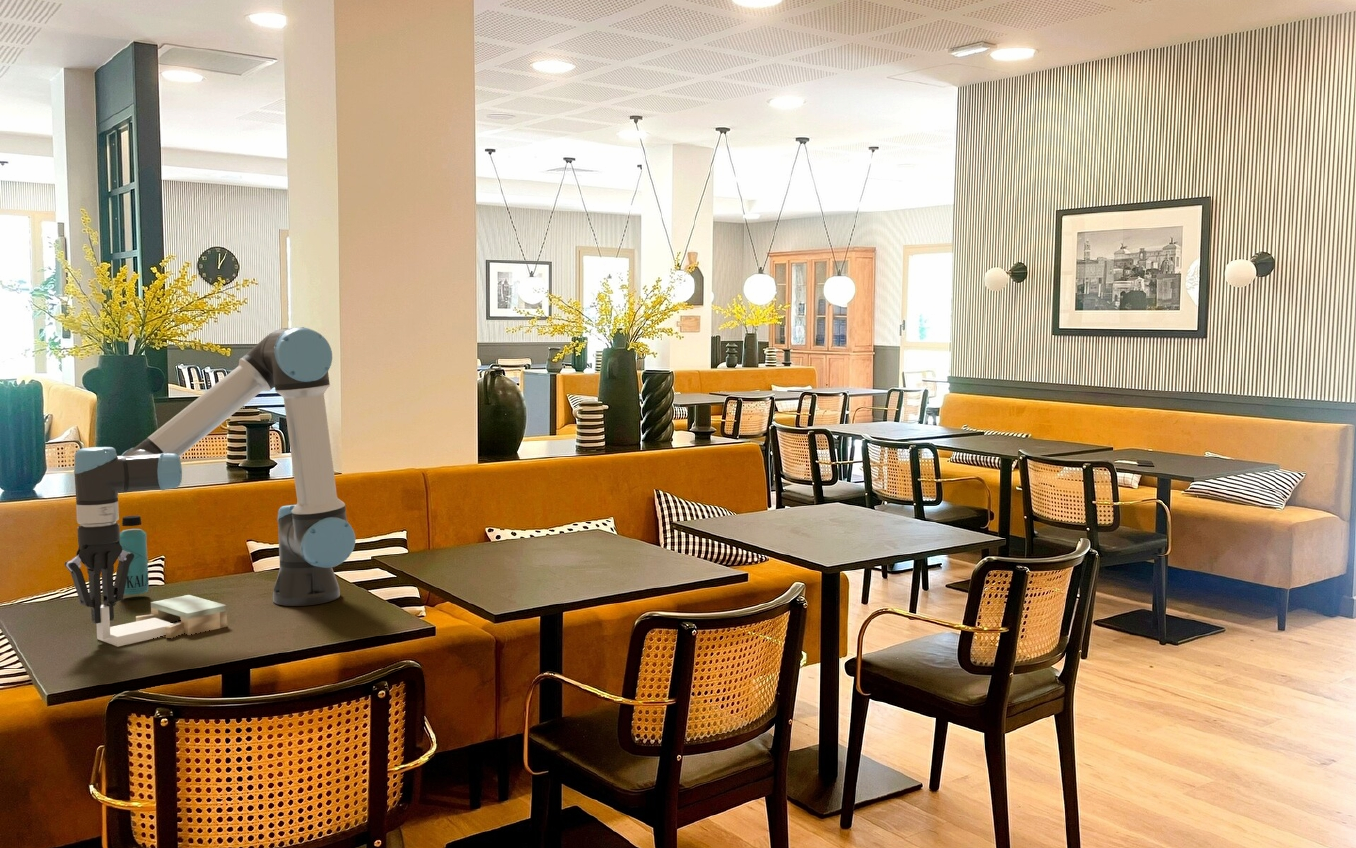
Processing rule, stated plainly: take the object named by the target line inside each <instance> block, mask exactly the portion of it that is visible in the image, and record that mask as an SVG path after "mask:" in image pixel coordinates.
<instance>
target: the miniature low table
mask: <svg viewBox="0 0 1356 848" xmlns="http://www.w3.org/2000/svg"><path fill="white" fill-rule="evenodd" d="M227 607H228V606H227V605H226V604H224V603H220V602H216V601H212V600H209V599H205V598H202V597H198V596H195V595H191V594H185V595H182V596H175V597H171V598H166V599H160V600H156V601H150V612H151V613H149V614H144V615H136V616H135V622H136V621H141V620H146V619H151V618H158V619H161V620H164V621H167V622H173V625H170V626H167V627H165V630H166V636H165V639H167V638H171V639H173V637H174V638H177V637H179V636H178V635H180V636H182V635H181V634H183V635H186V634H187V636H192V635H196V634H195V633H197V634H200V632H201V633H204V632H205V631H206V632H209V630H210V631H214V630H219V629H222V628H226V627H228V613H227V611H228V610H227V609H228V608H227ZM178 620H181V621H178ZM174 621H177V622H174ZM206 632H205V633H206ZM184 633H185V634H184ZM191 634H192V635H191ZM176 636H177V637H176Z"/></svg>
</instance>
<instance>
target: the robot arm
mask: <svg viewBox="0 0 1356 848" xmlns="http://www.w3.org/2000/svg"><path fill="white" fill-rule="evenodd" d="M332 362H333V351H332V347H331V345H330V343H329V342H328V340H327V339H326V338H325V336H323V335H322V334H321V333H319V332H318V331H316V330H313V329H310V328H308V327H305V326H304V327H303V326H302V327H297V326H296V327H292V328H291V327H289V328H288V327H286V328H285V327H284V328H279V329H275V330H274V331H271V332H270V333H268V335H266V336H264V338H263V339H261V340H260V341H259V342H258V343H257V344H256V345H254V346H253V347H252V348H251V349H249V351H248V352H247V353H245V354H244V355H243V356H242V357H240V358H239V361H238V366H237V367H235V368H234V369H233V370H232V371H231V372H229V373H228V374H226V375H225V376H224V377H223V378H222V379H220V380H219V381H217V382H216V383H215V384H214V385H213V386H211V387H209V389H207V390H206V391H205V392H203V394H201V395H200V396H198V397H197V398H196V399H195V400H194V401H192V402H191V403H189V404H188V405H187V406H186V407H185V408H183V409H182V410H181V411H180V412H178V413H177V414H176V415H175V416H173V417H172V418H171V419H169V420H168V421H167V422H165V423H164V424H163V425H162V426H160V427H159V428H158V429H157V430H155V431H154V432H153V433H152V434H150V435H149V436H147V438H146V439H144V440H142V441H141V442H140V443H138V445H136V446H135V447H131V448H129V449H127V450H125V451H124V452H123V453H122V454H121V455H118V454H117V450H116V448H115V447H112V446H92V447H83V448H79V449H78V450H76V451H75V453H74V471H73V475H74V487H75V503H76V504H75V505H76V511H75V512H76V523H77V524H78V526H77V545H78V548H77V551H76V553H75V554H76V556H75V557H73V558H71V560H66V561H65V562H64V567H65V568H66V569H67V570H68V571H69V573H70V576H71V577H72V581H73V585H74V588H75V590H76V594H77V597H78V599H79V603H80V605H82V606H85V607H89V608H90V610H91V611H90V612H91V621H92V623H93V624H96V637H98V638H101V639H107V638H110V627H111V623H110V622H111V621H114V618H115V611H114V608H115V607H114V606H116V605H117V603H118V602H120V601H122V600H123V598H124V596H125V595H124V591H125V586H126V581H127V576H128V571H129V566H130V563H131V562H132V560H133V558H134V554H133V553H129V552H126V551H124V550H122V546H121V545H120V533H121V531H120V523H118V521H119V519H120V515H119V513H120V512H119V494H121V493H130V492H131V493H132V492H146V491H147V492H148V491H159V490H160V491H165V490H169V489H177V488H179V487H180V486H181V483H182V481H183V480H182V479H183V467H182V461H181V458H180V457H182V456H183V455H184V454H186V452H188V451H189V450H190V449H191V448H193V447H194V446H195V445H196V444H197V443H199V442H200V441H202V440H203V439H204V438H205V437H206V436H208V435H209V434H210V433H211V432H213V431H214V430H215V429H217V428H218V427H219V426H220V425H222V424H223V423H224V422H225V421H226V420H228V419H229V418H230V417H231V416H232V415H234V414H236V412H237V411H239V410H240V409H242V408H243V407H244V406H245V405H246V404H247V403H249V402H250V401H252V400H253V399H254V398H255V397H256V396H257V395H259V394H260V393H261V392H270V391H271V390H272V389H274V390H275V392H276V393H277V394H278V395H280V396H281V397H282V398H283V402H284V412H285V417H286V418H285V419H286V425H287V427H286V428H287V433H288V441H289V448H290V449H289V450H290V457H291V463H292V471H293V478H294V479H293V480H294V486H295V487H294V488H295V492H296V499H297V502H296V504H290V505H289V504H288V505H282V506H281V507H279V509H278V511H277V521H276V522H277V527H278V553H279V554H278V556H279V559H278V560H279V571H278V574H277V578H276V581H275V583H274V587H273V590H272V591H273V592H272V602H273V603H274V604H276V605H278V606H279V605H280V606H285V607H287V606H288V607H300V606H314V605H320V604H326V603H329V602H332V601H333V602H334V601H335V600H337V599H339V598H340V597H341V593H340V591H341V590H340V589H341V588H340V585H339V583H338V582H339V581H338V580H337V577H336V574H335V572H334V569H333V568H335V567H337V566H339V565H341V564H343V563H344V562H345V561H346V560H347V559H348V558H349V557H351V554H352V553H353V551H354V549H355V545H356V534H355V531H354V529H353V527H352V525H351V523H349V522H348V517H347V510H346V509H347V508H346V503H345V502H344V501H343V500H341V499H340V498H338V494H337V485H336V479H335V471H334V464H333V462H334V461H333V454H332V447H331V439H330V432H329V425H328V424H329V422H328V415H327V408H326V407H327V406H326V400H325V393H326V391H327V390H328V389H329V387H330V386H331V384H330V376H329V370H330V368H331V366H332ZM118 557H119V558H118ZM117 560H118V563H117V568H116V572H115V566H114V564H116V561H117ZM81 563H82V564H83V565H84V567H86V571H87V574H88V586H87V583H86V579H85V577H84V574H83V572H82V569H81V567H82V564H81ZM114 572H115V577H114ZM114 578H115V579H114ZM101 587H102V588H101ZM101 589H102V590H101ZM102 603H103V604H102ZM98 638H97V639H98Z"/></svg>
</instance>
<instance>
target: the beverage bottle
mask: <svg viewBox="0 0 1356 848" xmlns="http://www.w3.org/2000/svg"><path fill="white" fill-rule="evenodd" d="M141 525H142V520H141V516H140V515H127V516H123V517H122V522H121V526H122V527H135V526H141ZM147 535H148V534H147V532H146V531H144V530H143V529H141V528H130V529H123V530H122V531H120V545H121V546H122V550H124V551H126V552H129V553H133V554H134V558H133V560H132V562H131V563H130V566H129V571H128V576H127V581H126V586H125V591H124V596H133V595H140V594H145V593H147V592H149V588H150V585H149V581H150V579H149V578H150V577H149V560H148V547H147V543H148V542H147V540H148V539H147ZM118 559H119V557H118Z"/></svg>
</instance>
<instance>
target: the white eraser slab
mask: <svg viewBox="0 0 1356 848" xmlns="http://www.w3.org/2000/svg"><path fill="white" fill-rule="evenodd" d="M173 624H174V622H173V623H170V622H167V621H164V620H161V619H158V618H151V619H146V620H141V621H136V620H135V621H132V622H126V623H123V624H118V625H114V626H110V638H107V639H101V638H98V637H97V636H96V637H97V640H99V641H102V642H104V643H107V644H110V645H112V646H114V647H123V646H125V645H126V646H128V645H131V644H137V643H140V642H145V641H148V640H149V641H150V640H154V639H157V637H158V638H161V637H160V636H163V635H166V630H165V627H167V626H170V625H173ZM163 637H164V636H163ZM153 638H154V639H153Z"/></svg>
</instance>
